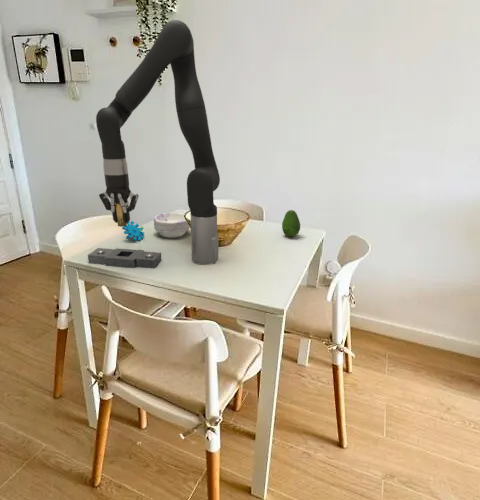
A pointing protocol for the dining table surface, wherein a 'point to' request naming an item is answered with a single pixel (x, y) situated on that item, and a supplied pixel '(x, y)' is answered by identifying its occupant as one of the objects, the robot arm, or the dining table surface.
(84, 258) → the dining table surface
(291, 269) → the dining table surface
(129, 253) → the grey block with hole
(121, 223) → the pin
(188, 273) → the dining table surface
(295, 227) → the avocado
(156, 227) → the paper bowls
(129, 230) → the gear
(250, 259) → the dining table surface
